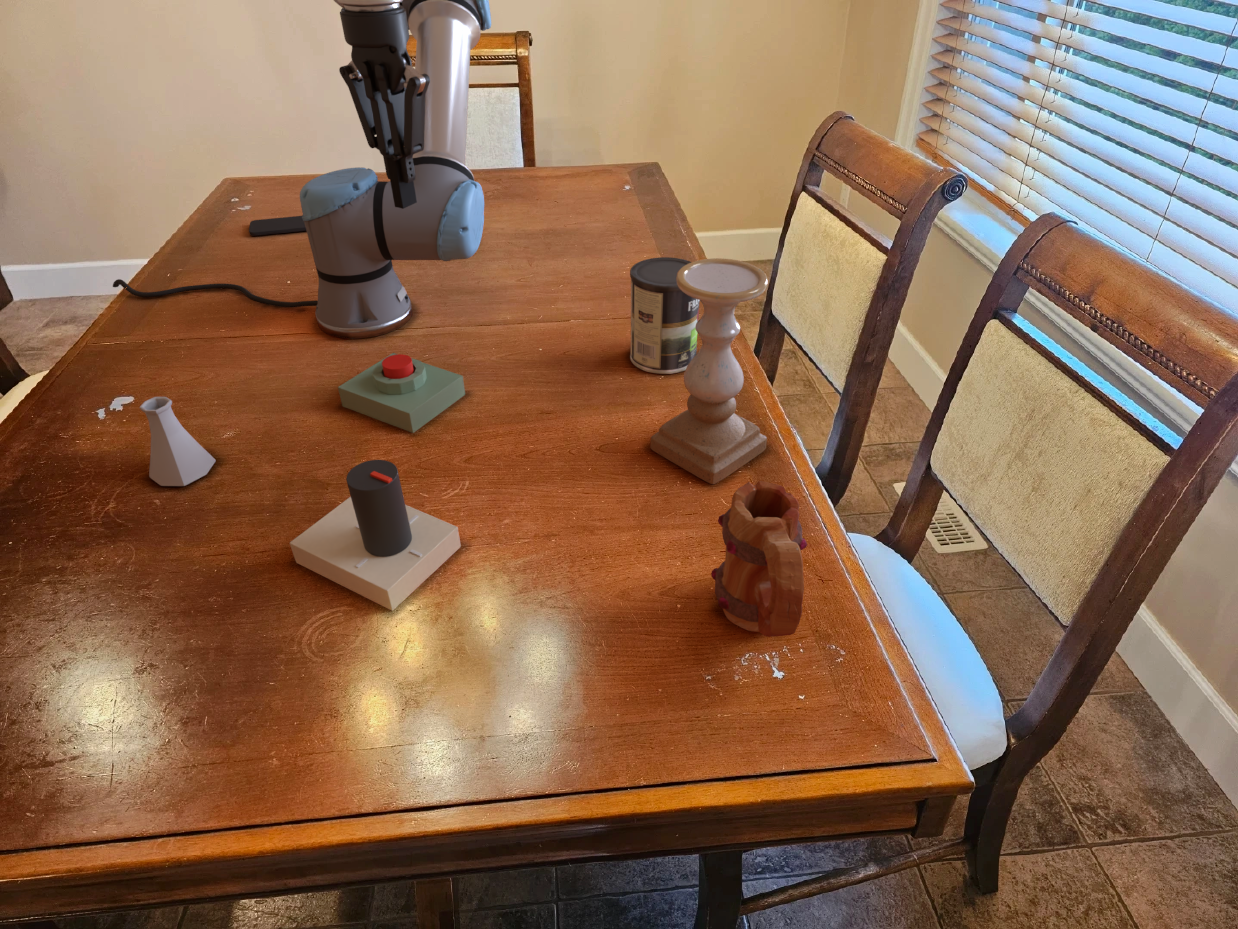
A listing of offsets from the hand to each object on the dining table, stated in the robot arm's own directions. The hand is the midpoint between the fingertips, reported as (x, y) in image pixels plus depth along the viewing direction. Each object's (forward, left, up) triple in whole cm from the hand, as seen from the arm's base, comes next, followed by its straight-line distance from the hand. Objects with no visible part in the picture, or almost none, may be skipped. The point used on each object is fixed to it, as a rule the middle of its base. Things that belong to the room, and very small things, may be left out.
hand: (405, 204), depth 107 cm
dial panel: (+24, -36, -24) cm, 49 cm away
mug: (+64, -25, -24) cm, 73 cm away
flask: (-8, -37, -24) cm, 45 cm away
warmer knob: (+26, -36, -21) cm, 49 cm away
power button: (+5, -11, -19) cm, 23 cm away
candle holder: (+47, 0, -24) cm, 53 cm away
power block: (+5, -11, -24) cm, 27 cm away
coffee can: (+31, +18, -24) cm, 43 cm away
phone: (-61, +27, -24) cm, 71 cm away
